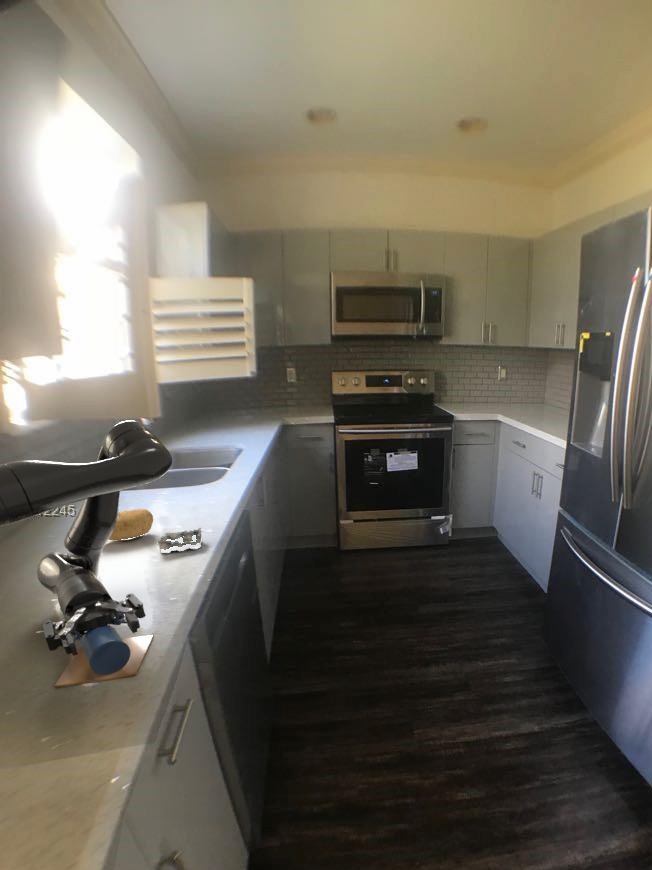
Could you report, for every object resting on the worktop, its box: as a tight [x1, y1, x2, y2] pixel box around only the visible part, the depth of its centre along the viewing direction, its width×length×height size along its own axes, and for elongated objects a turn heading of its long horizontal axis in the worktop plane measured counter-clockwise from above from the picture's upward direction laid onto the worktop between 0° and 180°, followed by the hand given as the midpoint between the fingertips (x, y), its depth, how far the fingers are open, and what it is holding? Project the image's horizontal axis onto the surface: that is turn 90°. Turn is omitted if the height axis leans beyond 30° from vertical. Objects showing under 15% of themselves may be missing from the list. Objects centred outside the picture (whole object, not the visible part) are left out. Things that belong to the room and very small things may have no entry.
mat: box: [54, 634, 155, 689], centre depth 78 cm, size 12×11×1 cm
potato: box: [108, 508, 154, 541], centre depth 127 cm, size 10×14×8 cm
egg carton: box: [157, 527, 203, 550], centre depth 121 cm, size 11×8×4 cm
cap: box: [80, 624, 131, 675], centre depth 76 cm, size 6×6×8 cm
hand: (105, 638), depth 73 cm, fingers open, 8 cm apart
